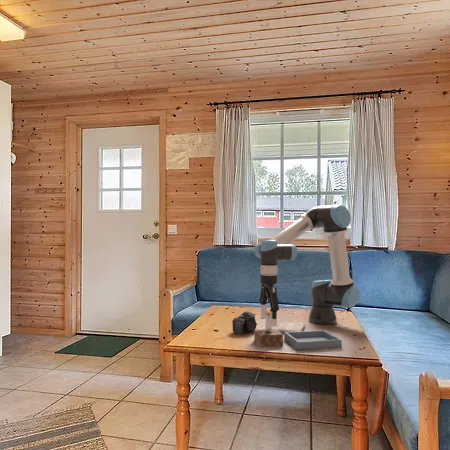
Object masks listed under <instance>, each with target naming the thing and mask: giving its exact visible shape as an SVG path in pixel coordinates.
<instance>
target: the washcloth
mask: <svg viewBox="0 0 450 450" xmlns="http://www.w3.org/2000/svg"><path fill="white" fill-rule="evenodd" d="M305 328H306V323H304V322H293V321H283V322H281V323H280V324H279V326H278V327H277V328H276V330H278V331H279V332H280V333H282V334H283V335H284V332H298V331H305V330H304V329H305Z"/></svg>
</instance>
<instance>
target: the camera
mask: <svg viewBox="0 0 450 450" xmlns="http://www.w3.org/2000/svg"><path fill="white" fill-rule="evenodd" d="M231 322H232V332H233V334H235V335H239V336H242V335H243V334H246V333H251V332H254V330H257V325H258V323H257V321H256V315H255V314H254V313H252V312H250V311H249V310H247V311H243V312H242V313H241V314H240V315H238V316H237V317H234V318H233V319H232V321H231Z"/></svg>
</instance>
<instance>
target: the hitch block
mask: <svg viewBox="0 0 450 450" xmlns="http://www.w3.org/2000/svg"><path fill="white" fill-rule="evenodd" d="M253 332H254V333H253V334H254V335H253V336H254V337H253V338H254V339H253V340H254V342H255V343H256V344H257V345H258V346H259V348H273V347H275V348H276V347H283V346H284V334H282V333H280V332H279V331H278V330H277V328H271V333H266V328H260V329H255V330H254V331H253Z"/></svg>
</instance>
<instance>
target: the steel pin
mask: <svg viewBox="0 0 450 450" xmlns="http://www.w3.org/2000/svg"><path fill="white" fill-rule="evenodd" d="M265 329H266V333H271V329H272V326H270V310H269V311H268V310H267V311H266V319H265Z"/></svg>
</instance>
